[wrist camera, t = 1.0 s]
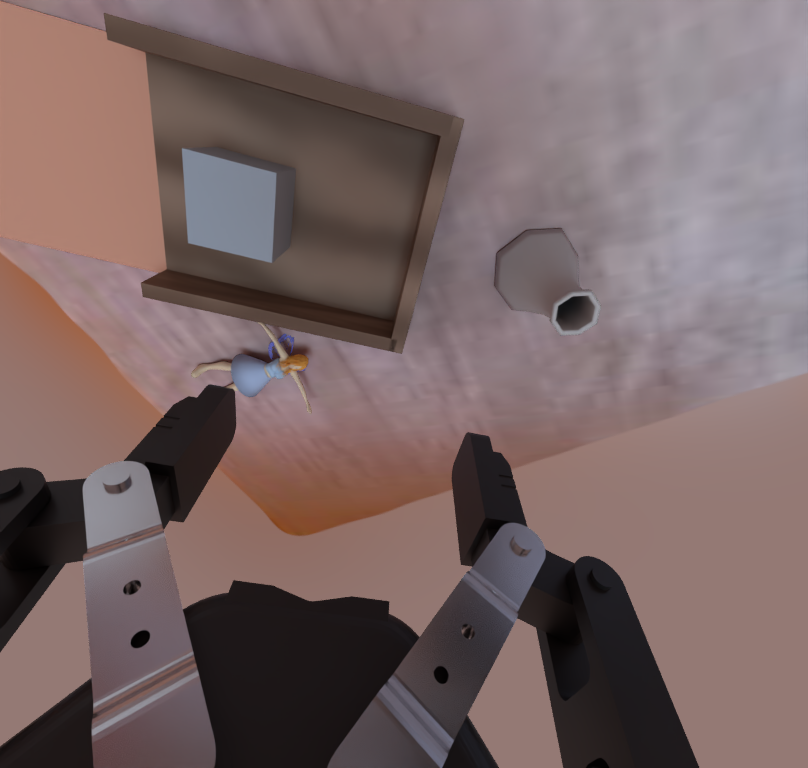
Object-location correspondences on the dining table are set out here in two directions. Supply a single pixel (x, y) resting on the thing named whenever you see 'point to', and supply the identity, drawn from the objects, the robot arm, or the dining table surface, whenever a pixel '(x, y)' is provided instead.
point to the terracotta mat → (77, 142)
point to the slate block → (238, 202)
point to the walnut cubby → (298, 189)
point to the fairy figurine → (261, 368)
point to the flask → (546, 280)
